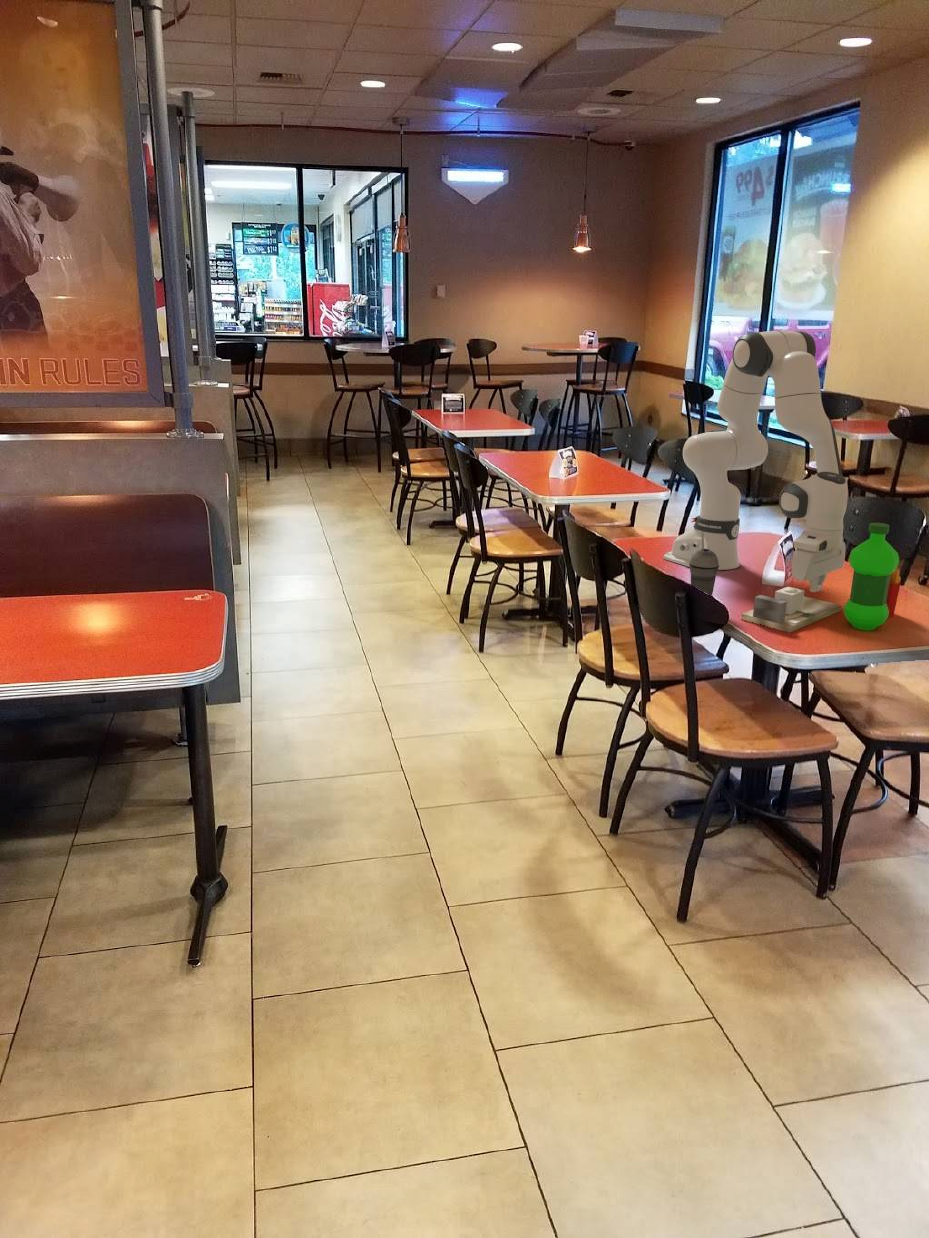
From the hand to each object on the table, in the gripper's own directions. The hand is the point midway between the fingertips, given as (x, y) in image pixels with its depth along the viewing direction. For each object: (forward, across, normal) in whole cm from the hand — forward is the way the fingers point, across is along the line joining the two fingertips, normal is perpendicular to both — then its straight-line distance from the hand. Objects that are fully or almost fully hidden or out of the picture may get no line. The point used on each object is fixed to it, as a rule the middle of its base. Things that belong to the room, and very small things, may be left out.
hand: (815, 590), depth 234 cm
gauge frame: (+4, +12, 0) cm, 12 cm away
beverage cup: (+4, +25, -17) cm, 31 cm away
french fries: (+4, -8, +14) cm, 17 cm away
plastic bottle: (+4, +6, +16) cm, 18 cm away
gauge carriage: (+2, +15, +2) cm, 16 cm away
